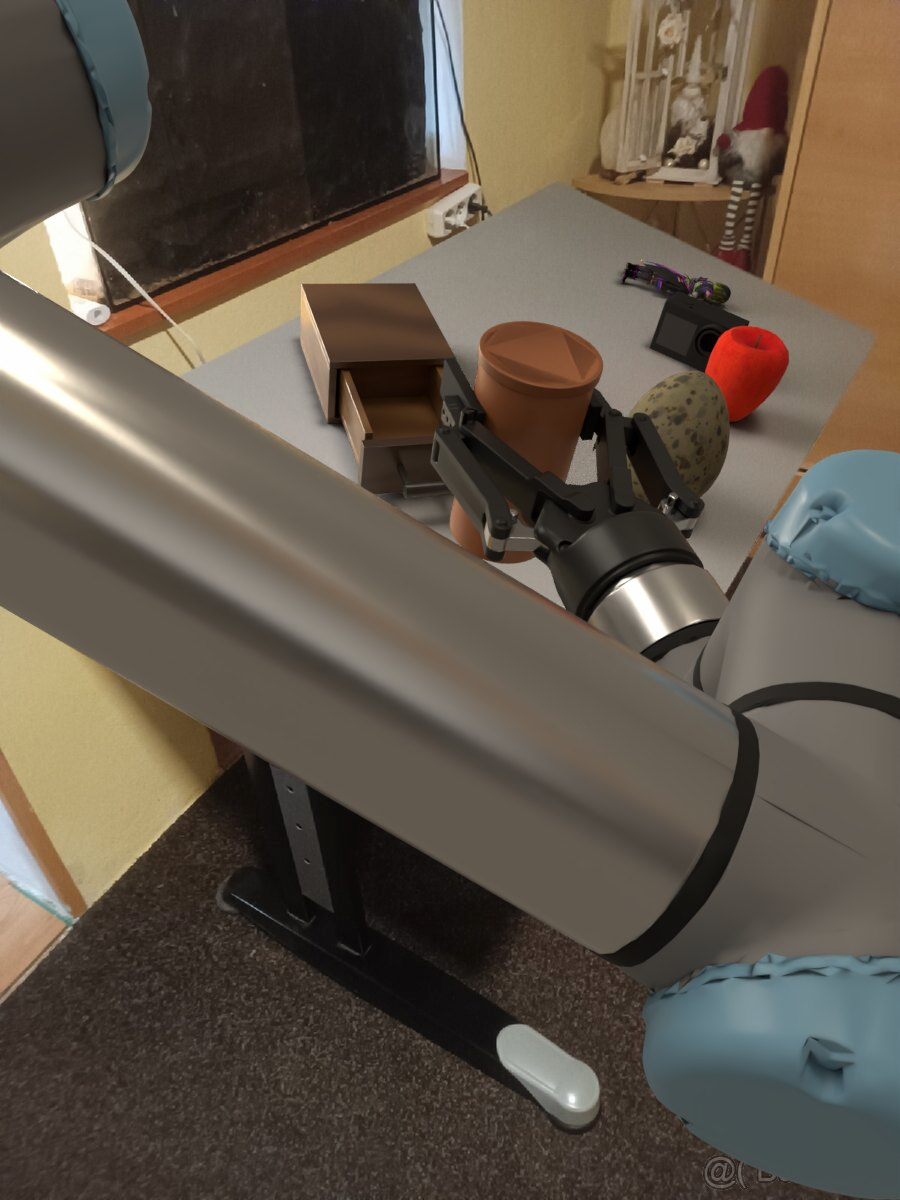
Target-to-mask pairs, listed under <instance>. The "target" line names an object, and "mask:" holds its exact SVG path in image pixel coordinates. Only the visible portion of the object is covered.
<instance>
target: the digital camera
mask: <svg viewBox="0 0 900 1200" xmlns="http://www.w3.org/2000/svg"><path fill="white" fill-rule="evenodd" d="M750 322H751V321H750V320H749V319H747V318H743V317H742V316H739V315H737V314H735V313H732V312H730V311H728V310H725V309H723V308H721V307H718V306H715V305H713V304H711V303H709V302H707V301H704V300H699V299H697V298H694V297H692V296H689V295H687V294H684V293H682V292H680V291H677V292H676V293H675V294H671V296H670V297H668V298H666V300H665V302H664V305H663V307H662V310H661V313H660V316H659V319H658V322H657V325H656V328H655V331H654V333H653V336H652V339H651V342H650V345H649V349H651V350H653V351H655V352H657V353H660V354H662V355H664V356H666V357H668V358H670V359H672V360H675V361H678V362H680V363H682V364H684V365H686V366H688V367H691V368H693V369H695V370H696V371H700V372H703V373H705V371H706V368H707V364H708V361H709V358H710V355H711V353H712V351H713V349H714V347H715V345H716V343H717V341H718V339H719V338H720V336H721V335H722V334H723V333H724V332H726V331H728V330H730V329H732V328H734V327H739V326H750V325H749V324H750Z"/></svg>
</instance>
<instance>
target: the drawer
mask: <svg viewBox="0 0 900 1200" xmlns="http://www.w3.org/2000/svg"><path fill="white" fill-rule="evenodd" d="M442 374H443V367H442V365H422V366H394V367H366V368H339V369H337V380H336V400H335V402H336V405H337V408H338V411H339V414H340V417H341V419H342V422H343V423H342V425H343V428H344V430H345V434H346V436H347V440H348V442H349V444H350V447H351V451H352V453H353V456H354V459H355V462H356V465H357V468H358V475H357V477H358V478H357V484H358V485H360V486H361V487H363V488H365V489H366V490H368V491H370V492H371V493H373V494H375V495H376V496H378V495H388V494H389V495H390V494H401V493H402V495H403V497H404V498H405V499H408V498H418V497H421V498H422V497H431V496H443V495H453V494H452V493H451V491H450V490H449V488H448V487H447V485H446V484H445V483H444V481H443V480H442V478H441V477H440V475H439V474H438V473H437V471H436V470H435V468H434V467H433V465H432V464H431V462H430V461H431V454H432V447H433V441H434V435H435V429H436V427H437V426H440V425H444V423H443V421H442V419H441V415H442V408H443V402H444V400H443V398H442V396H441V394H440V388H441V381H442Z"/></svg>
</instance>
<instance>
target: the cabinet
mask: <svg viewBox="0 0 900 1200" xmlns="http://www.w3.org/2000/svg"><path fill="white" fill-rule="evenodd" d="M299 341H300V342H299V343H300V346H301V350H302V352H303V355H304V358H305V362H306V365H307V367H308V370H309V373H310V376H311V379H312V382H313V385H314V389H315V392H316V394H317V397H318V401H319V403H320V406H321V409H322V412H323V416H324V417H325V422H326V424H327V425H329V424H343V422H342V419H341V417H340V414H339V411H338V408H337V405H336V402H335V400H336V380H337V369H339V368H366V367H394V366H422V365H442V367H443V368H444V361H445V358H456V359H457V357H456V356H455V354H454V352H453V349H452V348H451V346H450V344H449V343H448V341H447V339H446V337H445V335H444V334H443V332H442V329H441V328H440V326H439V324H438V321H436V318H435V317H434V315H433V313H432V312H431V310H430V307H429V306H428V304H427V302H426V301H425V298H424V297H423V295H422V293H421V291H420V289H419V287H418V286H417V284H416V283H415V282H405V283H404V282H401V283H400V282H394V283H392V282H391V283H390V282H389V283H387V282H386V283H385V282H384V283H383V282H381V283H379V282H377V283H371V282H370V283H369V282H368V283H367V282H365V283H363V282H361V283H359V282H357V283H301V284H300V340H299Z"/></svg>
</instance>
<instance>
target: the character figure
mask: <svg viewBox="0 0 900 1200" xmlns="http://www.w3.org/2000/svg"><path fill="white" fill-rule="evenodd" d="M645 262H646V263H644V259H643V258H642V259H640V262H639V264H638V263H637V264H636V263H632V262H629V261H627V262H626V265H625V267H624V269H623V272H622V276H621V277H620V278H621V279H620V285H624V284H625V282H626V281H627V279H629V280H633V281H636V280H637V279H638V280H642V281H646V285H652V286H654V288H655V289H656V290H657V291H663V292H667V293H669V294H670V295H673V294H675V293H676V292H677V291H680V292H682V293H684V294H687V295H689V296H692V297H694V298H697V299H699V300H701V301H704V300H706V299H707V300H708V301H714V302H716V303H718V304H719V305H723V304H725V303H727V302H728V301H729V300H730V298H731V295H732V290H731V288H730V287H729V286H727V285H726V284H724V283H722V282H717V281H715V282H713V281H711V280H709V278H708V277H702V276H699V278H698V277H692V278H690V276H689V275H688V274H686V273H684V275H683V274H681V273H680V272H677V271H675V269H672V268H671V267H667V266H666V265H663V264H661V263H658V262H654V261H649V260H645ZM685 275H686V276H685Z"/></svg>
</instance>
